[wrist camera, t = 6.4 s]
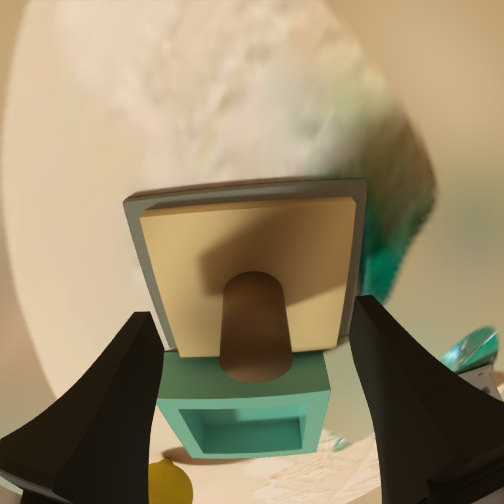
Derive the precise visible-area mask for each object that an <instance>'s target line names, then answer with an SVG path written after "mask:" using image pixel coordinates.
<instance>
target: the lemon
mask: <svg viewBox="0 0 504 504" xmlns="http://www.w3.org/2000/svg"><path fill="white" fill-rule="evenodd" d="M148 484H149V504H192V501H193V488H192V484H191V481H190V479H189V477H188V476H187V474H186V473H185V472H184V471H183V470H182V469H181V468H179V467H177V466H176V465H174V464H173V462H172V461H171V460H170V459H167V458H164V459H163V460H161V461H160V462H157V463H152V464H149V469H148Z"/></svg>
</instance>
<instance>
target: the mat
mask: <svg viewBox="0 0 504 504" xmlns="http://www.w3.org/2000/svg"><path fill="white" fill-rule="evenodd" d="M367 186H368V182H367V181H366V180H365V179H337V180H314V181H296V182H280V183H265V184H252V185H240V186H229V187H218V188H208V189H198V190H189V191H180V192H172V193H163V194H155V195H147V196H140V197H133V198H126V199H125V200H124V202H123V207H124V210H125V214H126V218H127V221H128V225H129V228H130V232H131V235H132V239H133V242H134V246H135V249H136V252H137V256H138V259H139V262H140V265H141V268H142V271H143V275H144V278H145V281H146V284H147V287H148V290H149V293H150V296H151V298H152V301H153V304H154V307H155V310H156V313H157V315H158V318H159V321H160V324H161V326H162V329H163V332H164V334H165V337H166V340H167V342H168V345H169V347H170V348H177V345H176V342H175V339H174V336H173V333H172V330H171V327H170V324H169V321H168V318H167V315H166V312H165V308H164V305H163V302H162V299H161V295H160V292H159V289H158V285H157V282H156V278H155V275H154V271H153V268H152V264H151V261H150V257H149V253H148V249H147V246H146V242H145V238H144V234H143V230H142V226H141V222H140V216H141V214H142V213H143V211H144V210H152V209H162V208H173V207H184V206H195V205H207V204H220V203H233V202H248V201H264V200H281V199H301V198H325V197H352V199H353V200H354V201H355V203H356V209H355V219H354V229H353V238H352V247H351V255H350V263H349V270H348V278H347V285H346V291H345V298H344V304H343V310H342V317H341V322H340V328H339V334H338V337H340V336H348V333H349V328H350V322H351V316H352V310H353V304H354V298H355V292H356V285H357V278H358V271H359V264H360V256H361V248H362V240H363V231H364V221H365V211H366V199H367Z"/></svg>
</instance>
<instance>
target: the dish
mask: <svg viewBox="0 0 504 504" xmlns="http://www.w3.org/2000/svg"><path fill="white" fill-rule="evenodd" d="M292 354H293V363H292V366H291V368H290V369H289V370H288V371H287V372H286V373H285V374H284V375H282V376H281V377H279V378H276V379H274V380H271V381H267V382H260V383H249V382H242V381H239V380H236V379H233V378H231V377H229V376H228V375H226V374H225V373H224V372H223V371H222V369H221V367H220V365H219V357H180V354H179V352H164V363H163V372H162V378H161V383H160V387H159V392H158V397H157V402H156V404H157V406H158V407H159V409H160V411H161V412H162V414H163V416H164V417H165V419H166V420H167V422H168V423H169V425H170V427H171V428H172V430H173V431H174V433H175V434H176V436H177V437H178V439H179V440H180V442H181V443H182V445H183V446H184V447H185V449H186V450H187V452H188V453H189V455H190V456H191V457H192V458H211V459H230V458H260V457H275V456H287V455H297V454H306V453H315V452H316V451H317V447H318V443H319V439H320V435H321V431H322V427H323V423H324V418H325V414H326V409H327V405H328V401H329V396H330V391H331V389H330V384H329V379H328V375H327V370H326V366H325V361H324V356H323V352H322V350H312V351H302V352H292Z"/></svg>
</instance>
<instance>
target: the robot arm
mask: <svg viewBox="0 0 504 504" xmlns="http://www.w3.org/2000/svg"><path fill="white" fill-rule="evenodd" d="M349 341H350V346H351V351H352V355H353V360H354V364H355V366H356V370H357V373H358V376H359V379H360V382H361V385H362V388H363V391H364V394H365V397H366V400H367V403H368V407H369V410H370V413H371V417H372V421H373V427H374V432H373V434H372V438H373V439H376V444H377V451H378V458H379V466H380V477H381V489H382V504H504V402H503V400H502V398H501V395H500V393H499V391H498V389H497V387H496V385H495V383H494V381H493V379H492V378H491V376H490V373H491V372H492V370H493V366H492V364H489V365H486V366H483V367H481V368H478V369H474V370H471V371H468V372H465V373H462V374H458V375H457V374H455V373H454V372H453V371H451V370H450V369H449V368H447V367H446V366H445V365H444V364H442V363H441V362H440V361H438V360H437V359H436V358H435V357H434V356H432V355H431V354H430V353H429V352H428V351H427V350H426V349H425V348H423V347H422V346H421V345H420V344H419V343H418V342H417V341H416V340H415V339H414V338H413V337H412V336H411V335H410V334H409V333H408V332H407V331H406V330H405V329H404V328H403V327H402V326H401V325H400V324H399V323H398V322H397V321H396V320H395V319H394V318H393V317H392V316H391V315H390V314H389V312H388V311H387V310H386V309H385V308H384V307H383V306H382V305H381V304H380V303H379V302H378V301H377V300H376V298H375V297H374V296H373V295H365V296H356V297H355V303H354V309H353V315H352V320H351V326H350V331H349ZM164 350H165V349H164V346H163V344H162V341H161V339H160V336H159V334H158V331H157V329H156V326H155V323H154V321H153V318H152V316H151V313H150V311H148V312H134V313H133V314H132V316H131V317H130V318H129V319H128V321H127V322H126V323H125V324H124V326H123V327H122V328H121V330H120V331H119V332H118V333H117V335H116V336H115V337H114V339H113V340H112V341H111V342H110V344H109V345H108V346H107V347H106V349H105V350H104V351H103V352H102V354H101V355H100V356H99V357H98V358H97V360H96V361H95V362H94V363H93V364H92V365H91V367H90V368H89V369H88V370H87V371H86V372H85V374H84V375H83V376H82V377H81V378H80V379H79V380H78V381H77V382H76V383H75V384H74V385H73V386H72V387H71V388H70V389H69V390H68V391H67V392H66V393H65V394H64V395H63V396H61V397H60V398H59V399H58V400H57V401H55V402H54V403H53V404H52V405H51V406H50V407H48V408H47V409H46V410H45V411H44V412H42V413H41V414H39V415H38V416H37V417H35V418H34V419H33V420H31V421H30V422H28V423H27V424H25V425H24V426H22V427H21V428H19V429H17V430H16V431H14V432H12V433H10V434H9V435H7V436H5V437H3V438H1V440H0V476H1V477H3V478H5V479H6V480H7V481H9V482H11V483H12V484H14V485H16V486H17V487H19V488H21V489H23V494H22V496H21V495H20V494H18V493H15V492H13V491H11V490H9V489H7V488H5V487H3V486H1V485H0V504H149V484H148V469H149V446H150V433H151V426H152V421H153V416H154V411H155V406H156V402H157V397H158V392H159V387H160V383H161V378H162V372H163V363H164Z"/></svg>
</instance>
